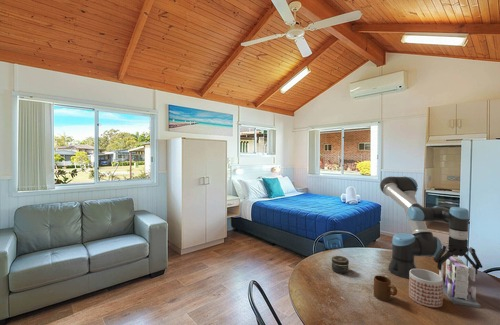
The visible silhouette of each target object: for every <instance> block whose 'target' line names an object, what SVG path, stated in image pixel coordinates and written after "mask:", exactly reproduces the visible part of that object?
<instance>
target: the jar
mask: <svg viewBox="0 0 500 325" xmlns="http://www.w3.org/2000/svg"><path fill="white" fill-rule="evenodd" d="M349 260H350V259H348V258H347V257H345V256H341V255H334V256H332V257H331V270H332V271H333V272H334V273H336V274H338V275H346V274H348V272H349V263H350V261H349Z"/></svg>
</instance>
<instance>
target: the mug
mask: <svg viewBox="0 0 500 325" xmlns="http://www.w3.org/2000/svg"><path fill="white" fill-rule="evenodd" d="M391 289H392V290H393V291H391ZM397 294H398V290H397V288H396V286H395V285H393V284H391V279H390V278H389V277H386V276H384V275H374V277H373V296H374V297H375V298H376V299H378V300H379V301H383V302H384V301H385V302H389V301H390V299H391V297H395V296H397Z"/></svg>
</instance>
